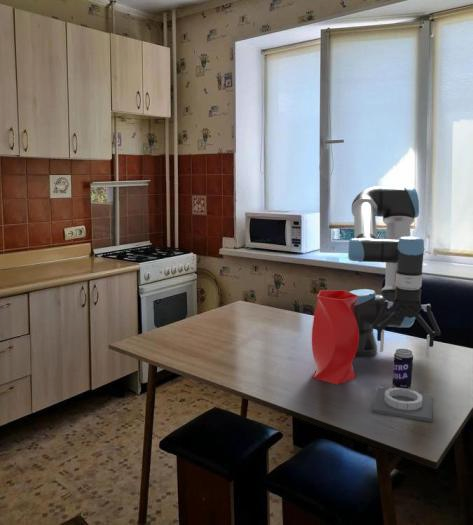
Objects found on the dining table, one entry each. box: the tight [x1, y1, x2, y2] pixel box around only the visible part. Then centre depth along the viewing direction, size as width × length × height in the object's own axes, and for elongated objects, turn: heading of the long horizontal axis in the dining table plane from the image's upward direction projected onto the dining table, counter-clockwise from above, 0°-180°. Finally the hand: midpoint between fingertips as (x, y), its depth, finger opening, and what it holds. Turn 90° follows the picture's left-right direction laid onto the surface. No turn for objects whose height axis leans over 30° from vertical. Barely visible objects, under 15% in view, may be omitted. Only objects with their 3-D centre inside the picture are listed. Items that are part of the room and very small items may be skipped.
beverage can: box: [392, 348, 414, 389], centre depth 160 cm, size 6×6×12 cm
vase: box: [311, 289, 359, 385], centre depth 168 cm, size 15×14×28 cm
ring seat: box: [371, 386, 433, 423], centre depth 149 cm, size 16×16×3 cm
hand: (403, 353), depth 159 cm, fingers open, 13 cm apart
